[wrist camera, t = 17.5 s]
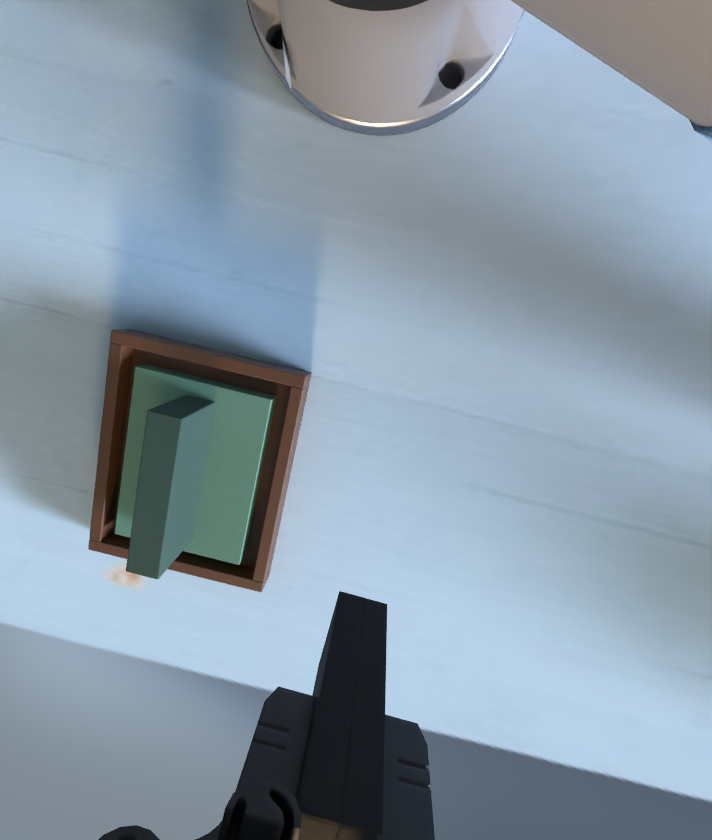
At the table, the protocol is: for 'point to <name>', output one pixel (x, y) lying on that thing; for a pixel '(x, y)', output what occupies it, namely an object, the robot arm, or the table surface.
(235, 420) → the back pad
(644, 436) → the table surface
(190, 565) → the back frame
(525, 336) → the table surface
